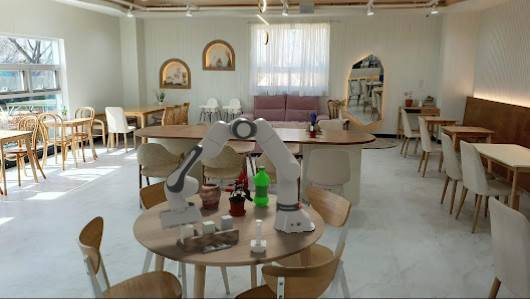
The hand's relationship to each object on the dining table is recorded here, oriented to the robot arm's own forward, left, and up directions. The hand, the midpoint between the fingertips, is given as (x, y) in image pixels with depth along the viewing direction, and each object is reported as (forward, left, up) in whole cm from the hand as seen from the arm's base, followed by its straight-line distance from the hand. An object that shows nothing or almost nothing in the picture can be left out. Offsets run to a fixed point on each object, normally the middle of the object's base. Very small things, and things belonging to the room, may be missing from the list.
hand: (185, 233), depth 193 cm
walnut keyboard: (-12, -1, -5) cm, 13 cm away
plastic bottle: (-36, -58, -5) cm, 68 cm away
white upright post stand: (-35, +6, -6) cm, 36 cm away
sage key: (-11, -3, -3) cm, 12 cm away
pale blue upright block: (-19, -11, -3) cm, 22 cm away
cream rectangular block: (-1, +2, -3) cm, 4 cm away
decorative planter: (-5, -56, -6) cm, 56 cm away
